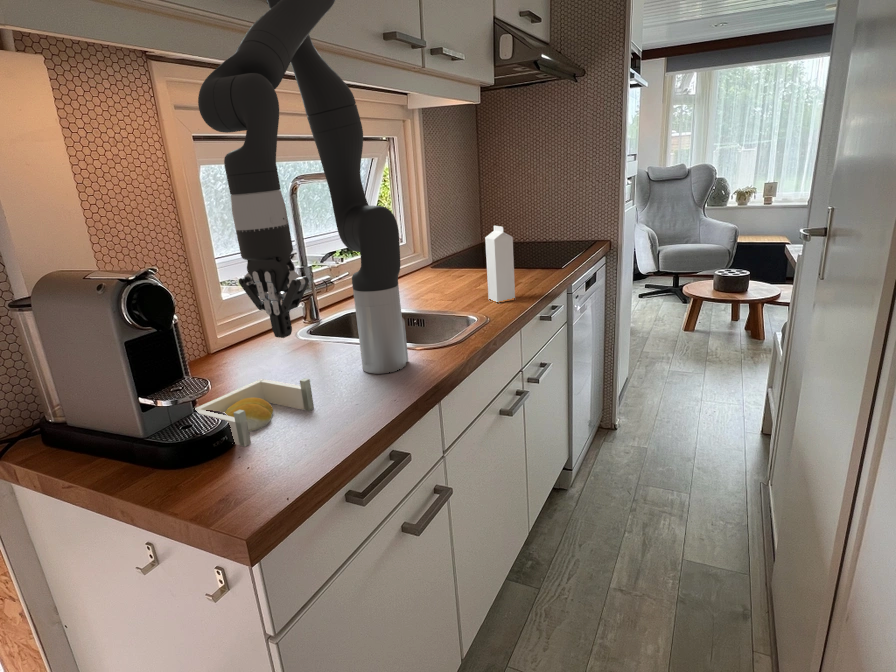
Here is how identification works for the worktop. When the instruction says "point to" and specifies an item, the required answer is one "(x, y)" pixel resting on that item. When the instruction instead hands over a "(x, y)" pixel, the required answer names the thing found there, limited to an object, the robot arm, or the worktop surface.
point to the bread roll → (253, 412)
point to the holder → (265, 390)
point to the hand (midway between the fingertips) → (283, 336)
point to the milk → (500, 265)
